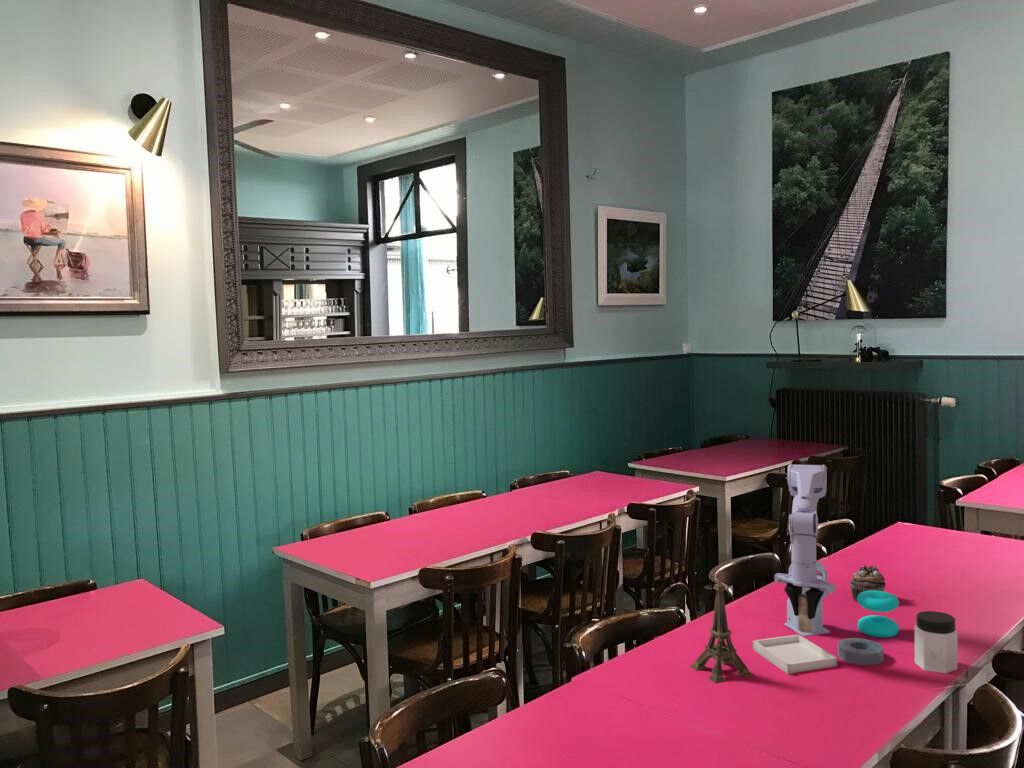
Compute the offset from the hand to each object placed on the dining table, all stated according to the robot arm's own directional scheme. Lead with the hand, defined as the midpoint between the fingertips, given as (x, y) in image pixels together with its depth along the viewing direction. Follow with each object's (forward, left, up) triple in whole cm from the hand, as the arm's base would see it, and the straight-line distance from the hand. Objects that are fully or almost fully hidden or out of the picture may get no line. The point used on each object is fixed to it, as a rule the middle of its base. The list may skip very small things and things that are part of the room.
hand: (804, 616), depth 203 cm
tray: (-1, -3, -10) cm, 11 cm away
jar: (+14, +25, -11) cm, 31 cm away
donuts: (-9, +27, -11) cm, 31 cm away
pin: (0, 0, -3) cm, 4 cm away
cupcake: (-32, +41, -11) cm, 53 cm away
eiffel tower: (0, -23, -11) cm, 25 cm away
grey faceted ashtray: (+4, +12, -10) cm, 17 cm away
